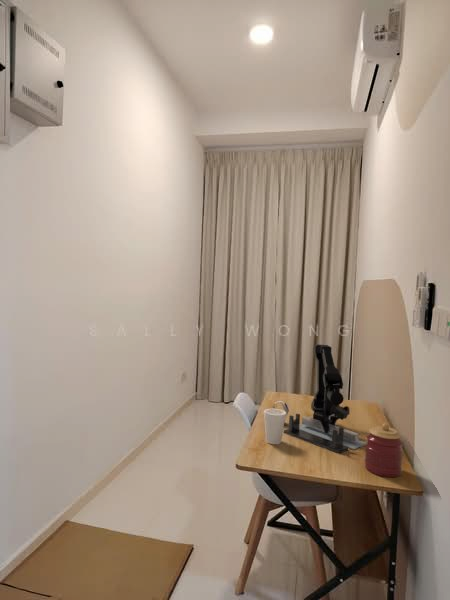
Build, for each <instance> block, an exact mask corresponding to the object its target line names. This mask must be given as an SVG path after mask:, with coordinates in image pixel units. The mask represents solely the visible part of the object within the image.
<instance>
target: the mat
mask: <svg viewBox="0 0 450 600" xmlns="http://www.w3.org/2000/svg"><path fill="white" fill-rule="evenodd" d="M299 429H300V430H302V431H305V432H308V433H311V434H313V435H316V436H319V437H322V438H324V439H327V440H330V441H332V437H333V435H332V434H329V433H325V432H323V431H320V430H317V429H315V428H312V427H309V426H306V425H303V424H302V423H301V424H299ZM366 443H367V442H365V441H361V440H359V441H357V442H352V441H349V440H346V439H343V445H344V446H347V447H348V449H350V450H352V449H353V450H354V451H355V450H357V449H360V448H361V447H364V446H366ZM359 447H360V448H359Z"/></svg>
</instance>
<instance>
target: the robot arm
mask: <svg viewBox="0 0 450 600" xmlns="http://www.w3.org/2000/svg"><path fill="white" fill-rule="evenodd" d="M314 345H315V346H313V347H312V352H313V357H314V359H315V360H316V364H317V367H316V375H317V376H316V392H315V393H314V395H313V398H312V401H311V404H310V408H311V410H312V412H313V414H312V418H313V419H316V420H319V421H320V422H321V424H322V426H323V428H324V431H325V433H328V430H329V424H331V425H334V426H336V423H337V421H338V420H344V419H347V417H348V416H349V415H350V412H351V411H350V407H349V406H348V405H346V406H341V404H342V403H343V402H344V395H343V394H342V392H340V390H341V389H342V390H343V388H344V382H343V377H342V375H341V374H340V371H339V369H338V368H337V367H336V366H335V362H334V358H333V353H332V352H333V351H332V346H330V345H329V344H314Z"/></svg>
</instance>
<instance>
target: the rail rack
mask: <svg viewBox="0 0 450 600" xmlns="http://www.w3.org/2000/svg"><path fill="white" fill-rule="evenodd" d="M288 417H289V419H288V428H287V429H283V434H286V435H289V436H291V437H294V438H297V439H299V440H302V441H305V442H307V443H309V444H312V445H315V446H318V447H320V448H322V449H325V450H328V451H330V452H334V453H336V454H338V455H339V454H341V453H344V452H346V451H349V448H348V447H347V446H344V445H343V434H344V429H345V428H342V427H340V428H339V434H337V432H338V431H336V430H333V437H332V441H330V440H327V439H324V438H322V437H319V436H316V435H313V434H311V433H308V432H305V431H302V430H300V429H299V425H301V424H300V421H301V414H300V413H295V417H294V415H292V414H290V415H289V416H288ZM294 418H295V419H294Z"/></svg>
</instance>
